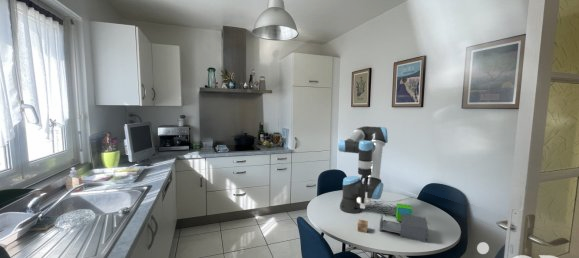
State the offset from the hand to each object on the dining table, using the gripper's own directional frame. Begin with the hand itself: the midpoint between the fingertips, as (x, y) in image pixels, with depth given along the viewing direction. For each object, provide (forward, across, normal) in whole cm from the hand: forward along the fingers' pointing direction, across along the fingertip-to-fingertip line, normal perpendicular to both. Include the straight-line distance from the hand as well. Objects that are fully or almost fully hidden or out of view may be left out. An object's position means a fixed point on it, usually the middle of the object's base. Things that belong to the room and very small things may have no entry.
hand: (363, 205), depth 138 cm
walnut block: (+15, -1, 0) cm, 15 cm away
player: (+15, +8, -27) cm, 32 cm away
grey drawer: (+15, +8, -16) cm, 23 cm away
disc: (-2, 0, 0) cm, 2 cm away
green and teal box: (+16, +26, -22) cm, 38 cm away
